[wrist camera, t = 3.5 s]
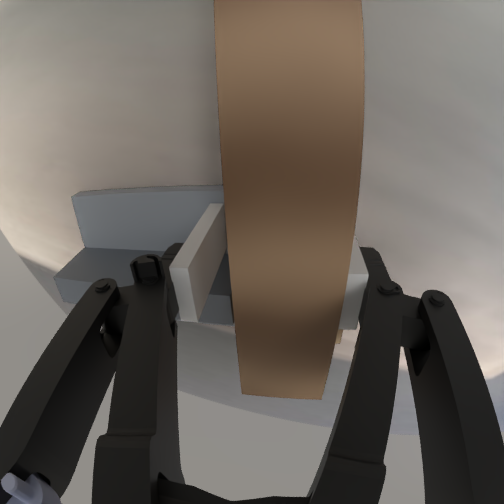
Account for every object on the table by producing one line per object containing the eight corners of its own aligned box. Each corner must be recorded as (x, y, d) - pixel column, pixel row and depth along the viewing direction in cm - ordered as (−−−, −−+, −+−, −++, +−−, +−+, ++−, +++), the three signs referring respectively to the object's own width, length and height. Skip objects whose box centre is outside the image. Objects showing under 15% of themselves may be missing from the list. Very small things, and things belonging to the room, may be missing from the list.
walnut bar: (236, -77, 7) (213, -121, 3) (331, -78, 6) (338, -124, 3) (253, 339, 18) (242, 394, 14) (321, 343, 17) (321, 399, 14)
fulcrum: (79, 191, 19) (33, 221, 15) (243, 185, 17) (222, 220, 13) (112, 302, 24) (83, 342, 20) (250, 318, 22) (238, 371, 18)
